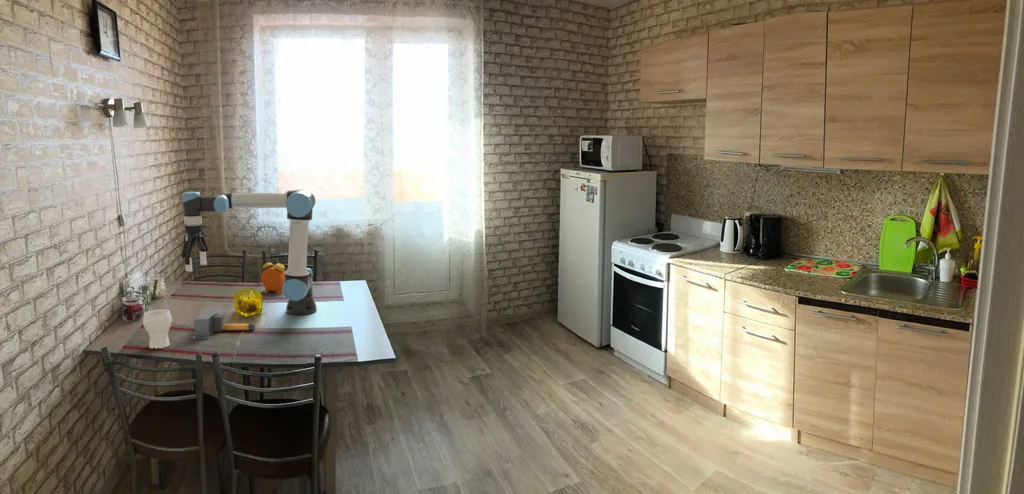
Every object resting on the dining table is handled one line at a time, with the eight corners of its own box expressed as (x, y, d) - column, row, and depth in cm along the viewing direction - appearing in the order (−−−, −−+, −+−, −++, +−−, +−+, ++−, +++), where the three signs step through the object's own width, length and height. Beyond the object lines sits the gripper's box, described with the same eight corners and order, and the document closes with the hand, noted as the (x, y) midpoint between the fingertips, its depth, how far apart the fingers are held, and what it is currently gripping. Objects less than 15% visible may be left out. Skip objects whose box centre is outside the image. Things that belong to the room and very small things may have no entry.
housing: (225, 322, 298) (224, 305, 297) (208, 339, 275) (207, 320, 273) (210, 322, 297) (209, 305, 296) (192, 339, 274) (190, 321, 272)
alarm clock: (288, 291, 356) (286, 258, 352) (281, 294, 350) (280, 260, 346) (268, 289, 358) (266, 256, 355) (261, 291, 353) (260, 258, 349)
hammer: (255, 328, 291) (254, 314, 290) (253, 331, 287) (252, 317, 286) (215, 328, 288) (214, 314, 287) (212, 331, 284) (211, 317, 283)
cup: (160, 351, 258) (158, 317, 256) (139, 348, 260) (136, 314, 258) (179, 343, 269) (176, 310, 266) (158, 340, 271) (155, 308, 268)
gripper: (198, 220, 302) (201, 262, 306) (170, 228, 278) (174, 273, 282) (214, 220, 302) (216, 262, 306) (187, 229, 278) (190, 274, 282)
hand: (196, 267), depth 294 cm, fingers open, 13 cm apart
